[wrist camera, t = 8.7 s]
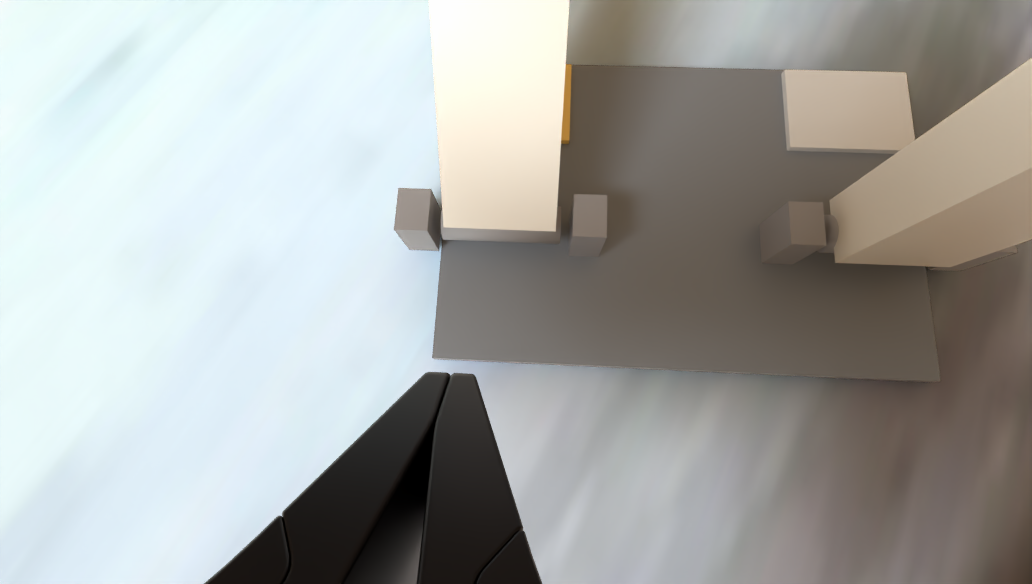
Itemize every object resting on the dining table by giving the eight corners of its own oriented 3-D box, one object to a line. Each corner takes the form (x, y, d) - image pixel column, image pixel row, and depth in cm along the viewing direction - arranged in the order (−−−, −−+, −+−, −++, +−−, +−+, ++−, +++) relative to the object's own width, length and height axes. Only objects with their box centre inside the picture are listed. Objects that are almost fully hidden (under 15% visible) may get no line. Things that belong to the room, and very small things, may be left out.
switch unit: (964, 384, 20) (1039, 379, 17) (402, 357, 21) (381, 349, 18) (921, 82, 23) (979, 33, 20) (430, 70, 23) (416, 21, 20)
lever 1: (559, 256, 19) (588, -184, 12) (439, 252, 19) (408, -184, 13) (558, 229, 21) (583, -162, 15) (450, 225, 21) (428, -163, 15)
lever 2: (934, 274, 19) (1552, 67, 8) (814, 270, 20) (1237, 60, 8) (926, 214, 20) (1492, -67, 8) (809, 210, 20) (1200, -71, 8)
